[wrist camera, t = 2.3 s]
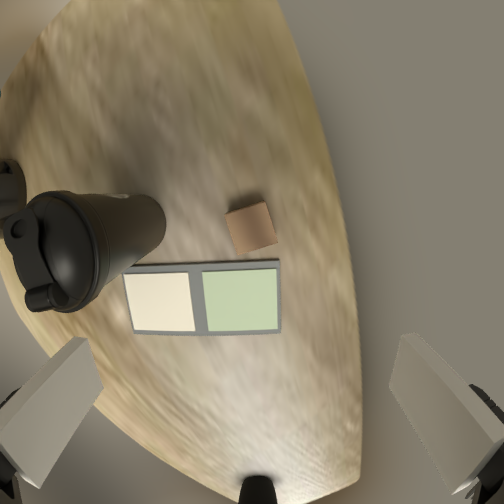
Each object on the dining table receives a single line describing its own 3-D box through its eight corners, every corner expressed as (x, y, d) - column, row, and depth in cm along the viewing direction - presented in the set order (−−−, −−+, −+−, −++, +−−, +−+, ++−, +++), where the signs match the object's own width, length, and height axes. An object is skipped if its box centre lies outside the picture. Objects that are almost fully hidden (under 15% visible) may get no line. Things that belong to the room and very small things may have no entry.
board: (135, 331, 41) (132, 335, 40) (123, 265, 39) (119, 268, 38) (280, 330, 41) (281, 334, 40) (279, 259, 38) (279, 261, 37)
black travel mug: (162, 179, 36) (54, 171, 14) (180, 250, 38) (96, 322, 16) (102, 200, 37) (-19, 218, 14) (120, 265, 39) (16, 333, 16)
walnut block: (239, 247, 38) (237, 255, 33) (228, 212, 37) (224, 215, 32) (275, 236, 38) (278, 242, 33) (263, 200, 37) (265, 201, 32)
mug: (232, 477, 50) (230, 509, 40) (267, 470, 49) (269, 504, 39) (253, 494, 52) (253, 523, 42) (285, 488, 51) (288, 518, 41)
